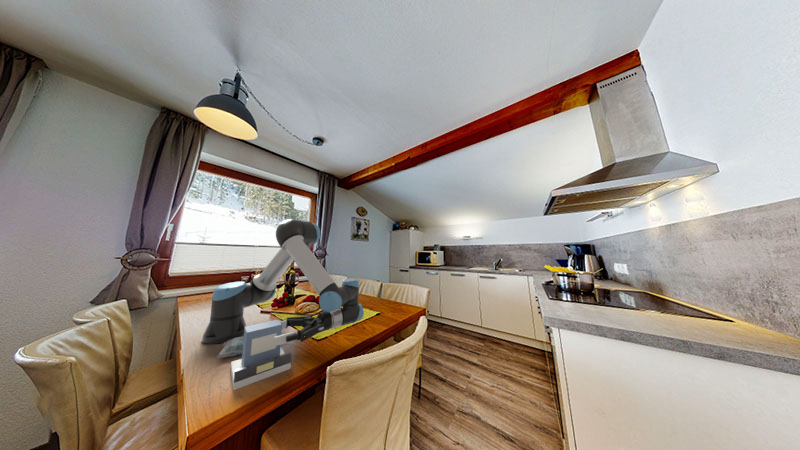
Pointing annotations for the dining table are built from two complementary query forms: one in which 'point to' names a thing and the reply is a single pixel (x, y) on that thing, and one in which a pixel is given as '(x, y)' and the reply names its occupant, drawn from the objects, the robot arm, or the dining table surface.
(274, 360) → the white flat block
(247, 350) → the carton
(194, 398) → the dining table surface
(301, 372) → the dining table surface
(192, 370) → the dining table surface
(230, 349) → the packaged food
